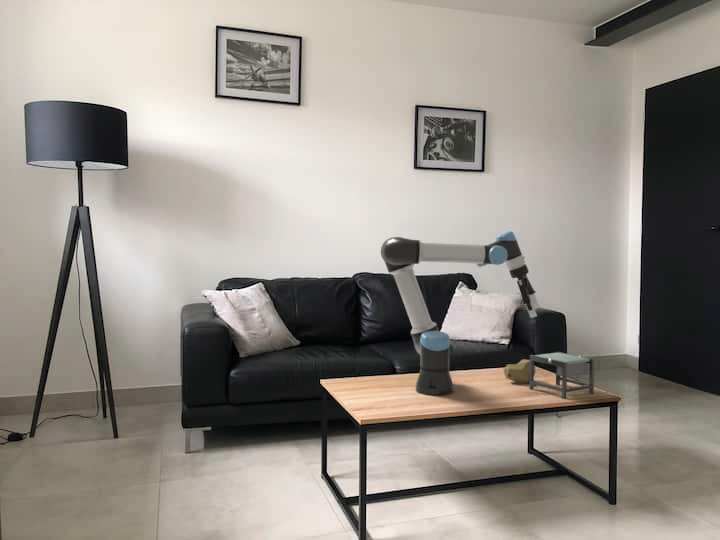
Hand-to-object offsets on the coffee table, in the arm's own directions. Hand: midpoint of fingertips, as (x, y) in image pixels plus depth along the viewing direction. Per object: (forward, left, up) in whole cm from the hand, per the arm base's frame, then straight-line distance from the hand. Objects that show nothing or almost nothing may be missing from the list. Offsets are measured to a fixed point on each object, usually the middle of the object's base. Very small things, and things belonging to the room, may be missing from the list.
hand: (535, 312), depth 253 cm
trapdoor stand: (-1, -16, -30) cm, 34 cm away
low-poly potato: (-4, +4, -31) cm, 31 cm away
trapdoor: (-1, -16, -22) cm, 27 cm away
